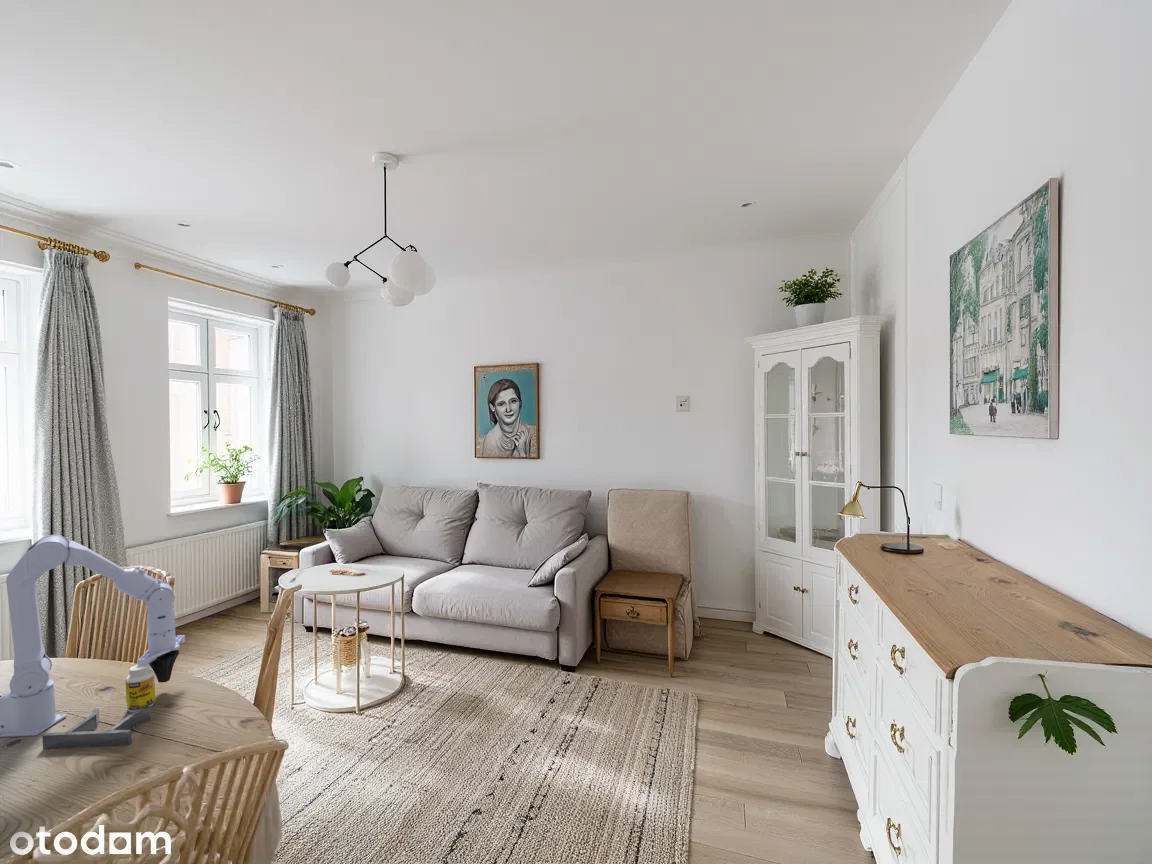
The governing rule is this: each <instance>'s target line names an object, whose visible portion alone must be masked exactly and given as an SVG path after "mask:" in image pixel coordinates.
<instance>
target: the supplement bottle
mask: <svg viewBox="0 0 1152 864" xmlns="http://www.w3.org/2000/svg"><path fill="white" fill-rule="evenodd" d="M155 680H156V679H155V673H154V671H153V669H152V670H151V667H150V664H149V663H148V664H147V665H138V664H135V665H133V666H131V667H130V668H129V673H128V676H127V677H126V678H125V701H126V710H127V711H128V712H130V713H134V712H136V711H138V710H141V709H143V708H145V707H148V706H149V707H150V708H151V707H152V706H154V705H155V703H156V682H155Z"/></svg>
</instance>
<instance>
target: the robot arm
mask: <svg viewBox="0 0 1152 864" xmlns="http://www.w3.org/2000/svg"><path fill="white" fill-rule="evenodd" d="M64 562H65V564H64V567H65V568H66V567H75V566H76V567H77V566H78V567H79V566H81V567H83V568H85V569H88V570H90V571H92V572H95V573H97V574H99V575H101V576H103V577H106V578H107V579H110V580H112V581H113V582H114V588H115V589H116V590H118V591H121V592H122V593H124V594H126V595H128V596H130V597H132V598H134V599H136V600H137V601H142V602H143V601H144V602H145V605H146V607H147V615H146V625H147V628H146V629H147V646H148V647H147V648H148V649H147V650H146V651H145V652H144V653H143V654H142V655H141V657H140V658H137V660H136V662H137V665H147V664H148V663H149V664H150V669H152V671H153V672H154V676H155V677H156V679H157V682H158V683H168V681H170V679H171V676H172V672H173V668H174V664H175V662H176V659H178V656H179V654H180V650H179V649H180V647H181V644H184V643H186V635H185V634H183V635H182V634H180V635H178V634H177V635H176V619H175V617H176V616H175V610H174V608H175V607H174V602H175V599H176V596H175V593H174V590H173V587H172V586H171V585H170V584H169V583H167V582H166V581H163V580H162V579H160V578H157V579H156V578H154V577H152V576H150V575H148V574H146V573H145V572H146V571H145V569H143V568H141V567H139V568H138V569H137V568H135V567H130V568H123V567H121V566H120V565H118V564H116V563H114V562H113V561H111V560H109V559H107V558H106V557H104V556H102V555H100V554H98V553H97V552H95V551H94V550H92V549H90V548H88V547H87V546H85V545H83V544H80V543H78V542H77V541H74V540H71V539H70V541H69V540H68V539H67V538H66V537H65V536H63V535H60V534H49V535H46V536H44V537H41V538H40V539H39V540H37V541H35V542H34V543H33V544H31V545H30V546H29V547H28V548H27V549H26V550H25V552H24V553H23V555H22V556H21V557H20V558H19V560H18V561H17V563H16V564H15V565H14V566H13V568H12V569H11V570H10V571H9V573H8V574H7V576H6V580H5V584H6V593H7V601H8V609H9V610H8V611H9V618H10V619H9V620H10V627H11V628H10V629H11V634H12V635H11V636H12V645H13V653H14V656H13V657H14V659H13V675H12V676H11V679H10V681H9V685H8V686H9V689H10V690H8V691H6V692H5V693H3V694H2V695H1V696H0V738H3V737H5V738H6V737H9V736H10V737H28V736H29V737H30V736H33V737H34V736H37V735H39V734H41V733H42V732H44V731H45V730H47V729H49V728H50V727H52V726H54V725H55V724H56V723H58V722H60V721H61V720H63V719H64V718H66V717H67V715H68V714H67V713H59V714H57V713H56V711H57V710H56V697H55V681H54V680H53V679H52V678H50V676H49V675H50V671H51V670H52V666H53V662H52V660H51V658H50V657H49V656H48V655H47V654H46V650H45V649H46V648H45V646H44V642H43V636H42V635H43V634H42V627H41V626H42V625H41V618H40V617H41V615H40V607H39V600H38V599H39V598H38V589H37V582H36V581H37V580H38V579H39V578H41V577H42V576H43V575H44V574H46V572H49V571H50V570H53V569H55V568H56V567H59V566H60V565H62V564H63V563H64Z"/></svg>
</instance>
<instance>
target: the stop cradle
mask: <svg viewBox="0 0 1152 864" xmlns="http://www.w3.org/2000/svg"><path fill="white" fill-rule="evenodd" d="M151 714H152V711H151V707H149V706H148V707H145V708H143V709H141V710H138V711H136V712H131V713H130V714H129V715H127V716H126V717H125V718H123V719H121V720H120V721H119V722H118V723H116V724H115V725H114V726H112V727H111V728H109V729H107V730H95V729H96V728H97V727H98V725H99V723H100V708H93V709H92V711H91V714H90V715H89V716H87V717H86V718H84V719H83V720H82V721H80V722H79V723H77V724H76V725H74V726H73V727H71V728H70V729H68V730H67V731H65V732H64V731H63V732H46V733H45V734H43V735H42V737H41V739H42V749H43V750H53V749H76V748H78V749H79V748H80V749H81V748H100V747H101V748H102V747H103V748H104V747H106V748H107V747H124V746H125V747H126V746H127V747H129V746H130V745H132V743H133V736H132V733H133V731H132V730H133V729H134V728H136V727H137V726H136V725H138V726H140V725H142V724H144V723H147V722H149V721H151V720H152V715H151ZM150 719H151V720H150ZM148 720H149V721H148ZM146 721H147V722H146ZM98 722H99V723H98ZM141 723H142V724H141ZM139 724H140V725H139ZM135 726H136V727H135ZM133 727H134V728H133ZM94 728H95V729H94ZM132 728H133V729H132ZM93 729H94V730H93ZM131 729H132V730H131Z"/></svg>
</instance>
